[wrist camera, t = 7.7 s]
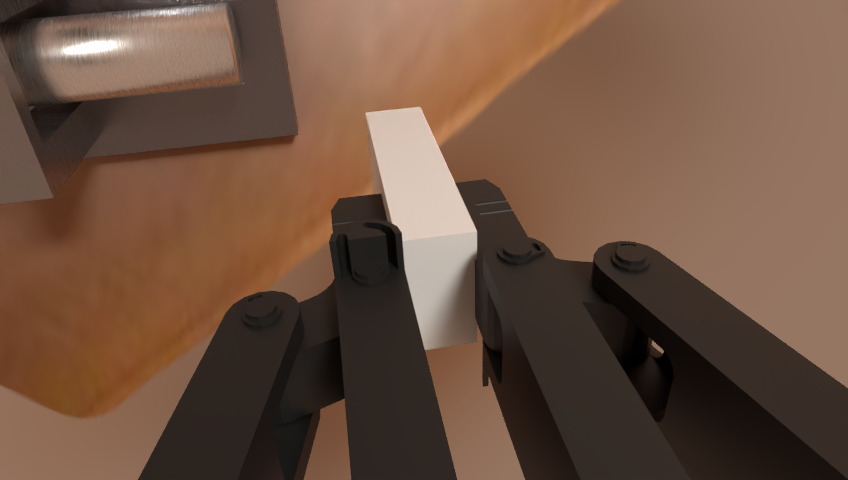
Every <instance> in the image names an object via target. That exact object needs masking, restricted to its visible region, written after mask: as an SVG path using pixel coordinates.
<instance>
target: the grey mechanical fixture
mask: <svg viewBox="0 0 848 480" xmlns="http://www.w3.org/2000/svg"><path fill="white" fill-rule="evenodd" d="M218 2H228V3H229V5H230V7H231V9H232V12H233V16H234V19H235V23H236V27H237V31H238V36H239V41H240V47H241V53H242V61H243V72H244V80H243V85H238V86H228V87H218V88H208V89H198V90H188V91H178V92H169V93H159V94H149V95H139V96H129V97H119V98H109V99H100V100H90V101H80V102H70V103H60V104H50V105H40V106H30V107H28V106H27V103H26V101H25V98H24V96H23V94H22V91H21V89H20V86H19V84H18V81H17V79H16V76H15V74H14V71H13V69H12V66H11V64H10V61H9V59H8V57H7V54H6V52H5V49H4V47H3V44H2V42H1V39H0V204H8V203H16V202H25V201H33V200H42V199H50V198H54V197H55V196H56V194H57V193H58V192H59V190H60V189H61V188H62V186H63V185H64V184H65V182H66V181H67V180H68V178H69V177H70V175H71V174H72V173H73V171H74V170H75V169H76V167H77V166H78V165H79V163H80V162H81V161H82V159H83V158H92V157H101V156H110V155H119V154H128V153H137V152H146V151H155V150H164V149H173V148H182V147H191V146H200V145H209V144H218V143H227V142H236V141H245V140H254V139H263V138H272V137H280V136H289V135H298V124H297V118H296V112H295V106H294V100H293V94H292V88H291V82H290V76H289V70H288V64H287V59H286V53H285V47H284V41H283V35H282V29H281V23H280V17H279V11H278V5H277V0H0V23H1V22H3V21H9V20H20V19H32V18H43V17H55V16H67V15H78V14H90V13H102V12H113V11H125V10H137V9H148V8H160V7H171V6H183V5H195V4H206V3H218Z"/></svg>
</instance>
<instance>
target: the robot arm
mask: <svg viewBox="0 0 848 480" xmlns="http://www.w3.org/2000/svg"><path fill="white" fill-rule="evenodd" d="M366 122H367V132H368V141H369V151H370V161H371V170H372V180H373V189H374V194H373V195H365V196H357V197H348V198H340V199H339V200H338V201H337V203H336V204H335V206H334V207H333V209H332V210H331V215H332V227H333V234H332V235H331V238H330V241H329V244H330V251H331V257H332V263H333V270H334V276H335V279H334V281H333V282H332V284H331V285H330V286H329V287H328V288H327V289H326V290H325V291H323V292H322V293H320V294H319V295H317V296H314V297H312V298H310V299H308V300H305V301H302V302H299V303H298V302H297V300H296V299H295V298H294V297H292V296H291V295H288V294H287V293H284V292H276V291H268V292H259V293H256V294H253V295H250V296H247V297H244V298H243V299H241V300H240V301H238V302H236V303H235V304H233V305H232V307H231V308H230V309H229V310H228V311H227V313H226V314H225V316H224V318H223V320H222V321H221V323H220V325H219V327H218V329H217V331H216V333H215V335H214V337H213V338H212V340H211V342H210V344H209V346H208V348H207V350H206V352H205V354H204V356H203V358H202V359H201V361H200V363H199V365H198V367H197V369H196V371H195V373H194V375H193V377H192V378H191V380H190V382H189V384H188V386H187V388H186V390H185V392H184V393H183V395H182V397H181V399H180V401H179V403H178V405H177V407H176V409H175V411H174V413H173V414H172V417H171V418H170V420H169V422H168V424H167V426H166V428H165V430H164V431H163V433H162V435H161V437H160V439H159V441H158V443H157V445H156V447H155V448H154V451H153V452H152V454H151V456H150V458H149V460H148V462H147V464H146V466H145V468H144V469H143V471H142V473H141V476H140V477H139V479H138V480H303V479H304V475H305V471H306V467H307V464H308V461H309V457H310V453H311V449H312V446H313V442H314V438H315V434H316V431H317V427H318V424H319V420H320V409H321V408H323V407H326V406H328V405H331V404H333V403H335V402H338V401H340V400H342V399H344V398H345V407H346V419H347V431H348V444H349V455H350V467H351V480H457V477H456V473H455V469H454V465H453V461H452V457H451V453H450V449H449V445H448V442H447V437H446V433H445V429H444V425H443V422H442V417H441V413H440V409H439V405H438V401H437V397H436V393H435V390H434V385H433V381H432V377H431V373H430V369H429V365H428V361H427V357H426V353H425V350H428V349H435V348H442V347H448V346H455V345H461V344H468V343H475V342H477V324H478V326H479V329H480V332H481V335H482V337H483V375H482V378H483V386H488V377H490V380H491V383H492V386H493V389H494V392H495V394H496V397H497V400H498V403H499V406H500V409H501V412H502V415H503V417H504V420H505V423H506V426H507V429H508V432H509V434H510V437H511V440H512V443H513V446H514V449H515V451H516V454H517V457H518V460H519V463H520V466H521V469H522V471H523V474H524V477H525V480H848V388H846V387H845V386H844V385H842V384H841V383H840V382H838V381H837V380H835V379H834V378H833V377H831V376H830V375H828V374H827V373H826V372H824V371H823V370H822V369H820V368H819V367H817V366H816V365H815V364H813V363H812V362H810V361H809V360H808V359H806V358H805V357H803V356H802V355H801V354H799V353H798V352H797V351H795V350H794V349H793V348H791V347H790V346H788V345H787V344H786V343H784V342H783V341H781V340H780V339H779V338H777V337H776V336H775V335H773V334H772V333H770V332H769V331H768V330H766V329H765V328H763V327H762V326H761V325H759V324H758V323H757V322H755V321H754V320H752V319H751V318H750V317H748V316H747V315H745V314H744V313H743V312H741V311H740V310H738V309H737V308H736V307H734V306H733V305H732V304H730V303H729V302H727V301H726V300H725V299H723V298H722V297H721V296H719V295H718V294H717V293H715V292H714V291H712V290H711V289H710V288H708V287H707V286H705V285H704V284H703V283H701V282H700V281H699V280H697V279H696V278H694V277H693V276H691V275H690V274H689V273H687V272H686V271H685V270H683V269H682V268H680V267H679V266H678V265H676V264H675V263H674V262H672V261H671V260H670V259H668V258H667V257H665V256H664V255H663V254H661V253H660V252H658V251H657V250H655V249H653V248H651V247H649V246H647V245H643V244H639V243H636V242H629V241H628V242H626V241H619V242H613V243H608V244H605V245H604V246H602V247H600V248H598V250H597V251H596V252H595V254H594V259H593V262H579V261H568V260H561V259H557V258H555V257H554V256H553V254H552V252H551V251H550V249H549V248H548V247H547V246H546V245H545V244H544V243H542V242H540V241H538V240H536V239H533V238H529V237H528V236H527V235H526V233H525V231H524V230H523V228H522V226H521V224H520V222H519V221H518V219H517V217H516V216H515V214H514V212H513V211H512V210H511V207H510V205H509V204H508V202H506V198H505V197H504V195H503V193H502V192H501V190H500V188H498V187H497V186H495V185H494V184H492V183H490V182H489V181H487V180H486V179H484V180H476V181H468V182H459V183H455V182H454V180H453V178H452V175H451V173H450V171H449V169H448V167H447V164H446V163H445V160H444V158H443V156H442V154H441V151H440V149H439V147H438V145H437V143H436V140H435V138H434V136H433V134H432V132H431V129H430V127H429V125H428V123H427V121H426V119H425V116H424V114H423V112H422V110H421V108H420V107H414V108H405V109H395V110H386V111H376V112H367V113H366ZM652 340H653V341H654V342H655V343H656V344H657V345H659V346H660V347H661V348H662V349H663V350H664V353H663V354H662V353H661V352H659V351H658V350H657V349H656V348H654V347H653V346H652V345H651V344H652Z"/></svg>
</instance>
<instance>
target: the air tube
mask: <svg viewBox="0 0 848 480" xmlns="http://www.w3.org/2000/svg"><path fill="white" fill-rule="evenodd" d="M0 39H1V42H2V44H3V47H4V49H5V52H6V54H7V57H8V59H9V61H10V64H11V66H12V69H13V71H14V74H15V76H16V79H17V81H18V84H19V86H20V89H21V91H22V94H23V96H24V98H25V101H26V103H27V106H28V107H30V106H40V105H50V104H60V103H70V102H80V101H90V100H100V99H109V98H119V97H129V96H139V95H149V94H159V93H169V92H178V91H188V90H198V89H208V88H218V87H228V86H238V85H243V80H244V72H243V61H242V53H241V47H240V41H239V36H238V31H237V27H236V23H235V19H234V16H233V12H232V9H231V7H230V5H229V3H228V2H218V3H206V4H195V5H183V6H171V7H160V8H148V9H137V10H125V11H113V12H102V13H90V14H78V15H67V16H55V17H43V18H32V19H20V20H9V21H3V22H1V23H0Z"/></svg>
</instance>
